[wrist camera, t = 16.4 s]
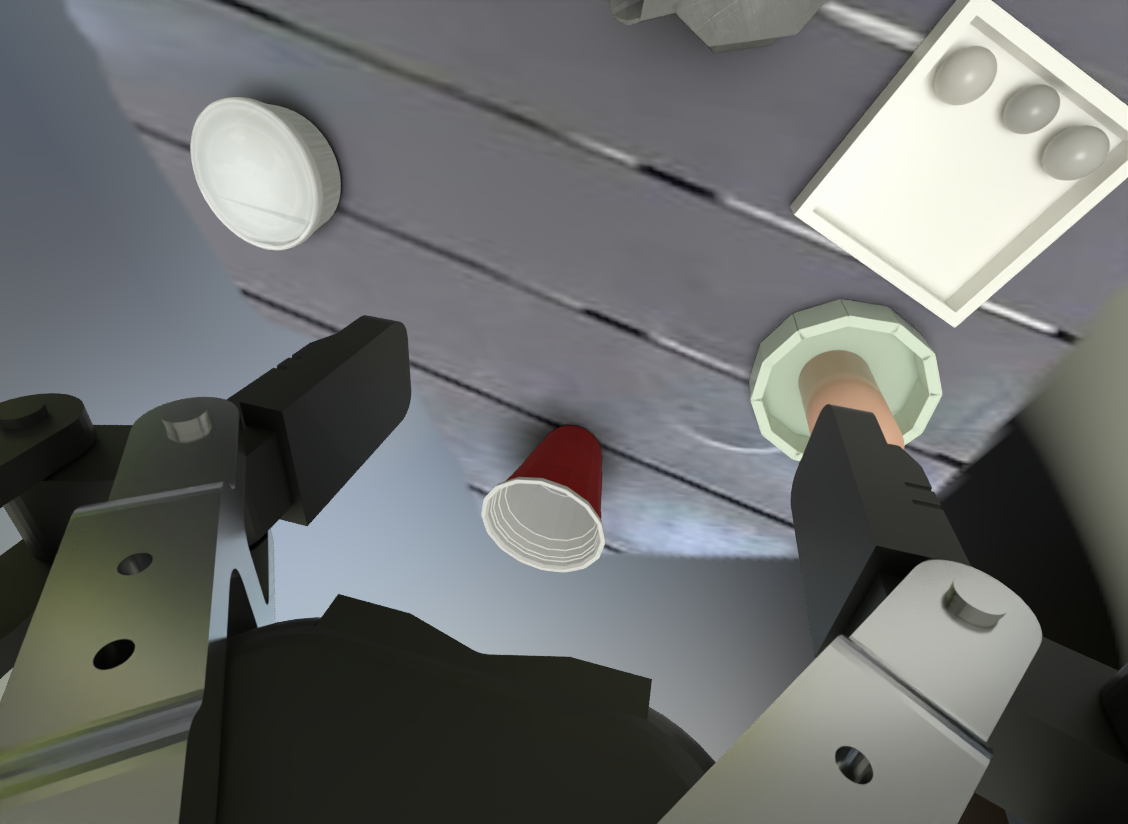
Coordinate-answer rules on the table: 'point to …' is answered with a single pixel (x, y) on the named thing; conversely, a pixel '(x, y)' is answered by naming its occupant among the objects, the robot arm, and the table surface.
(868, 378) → the pebble pot
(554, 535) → the plastic cup
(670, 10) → the coffeepot
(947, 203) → the parts tray
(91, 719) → the robot arm
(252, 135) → the ramekin
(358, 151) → the table surface
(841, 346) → the sage bowl
